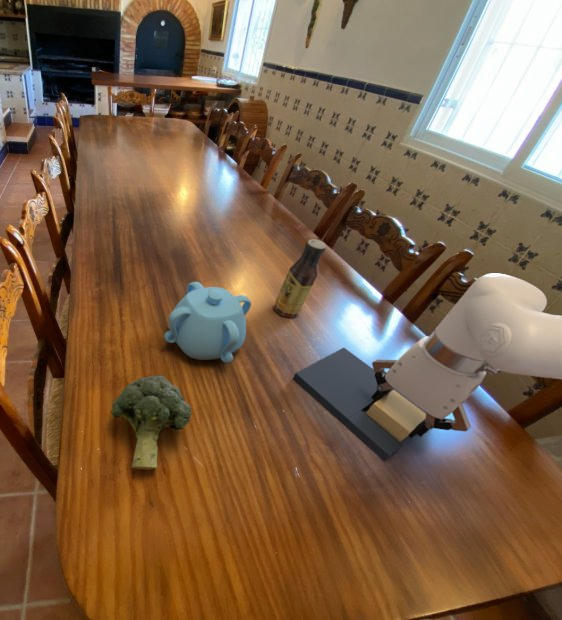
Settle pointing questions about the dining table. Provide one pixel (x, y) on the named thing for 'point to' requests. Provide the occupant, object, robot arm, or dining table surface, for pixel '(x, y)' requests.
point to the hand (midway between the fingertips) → (394, 417)
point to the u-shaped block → (349, 397)
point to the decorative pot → (209, 323)
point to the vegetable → (151, 414)
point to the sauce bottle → (299, 280)
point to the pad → (396, 415)
